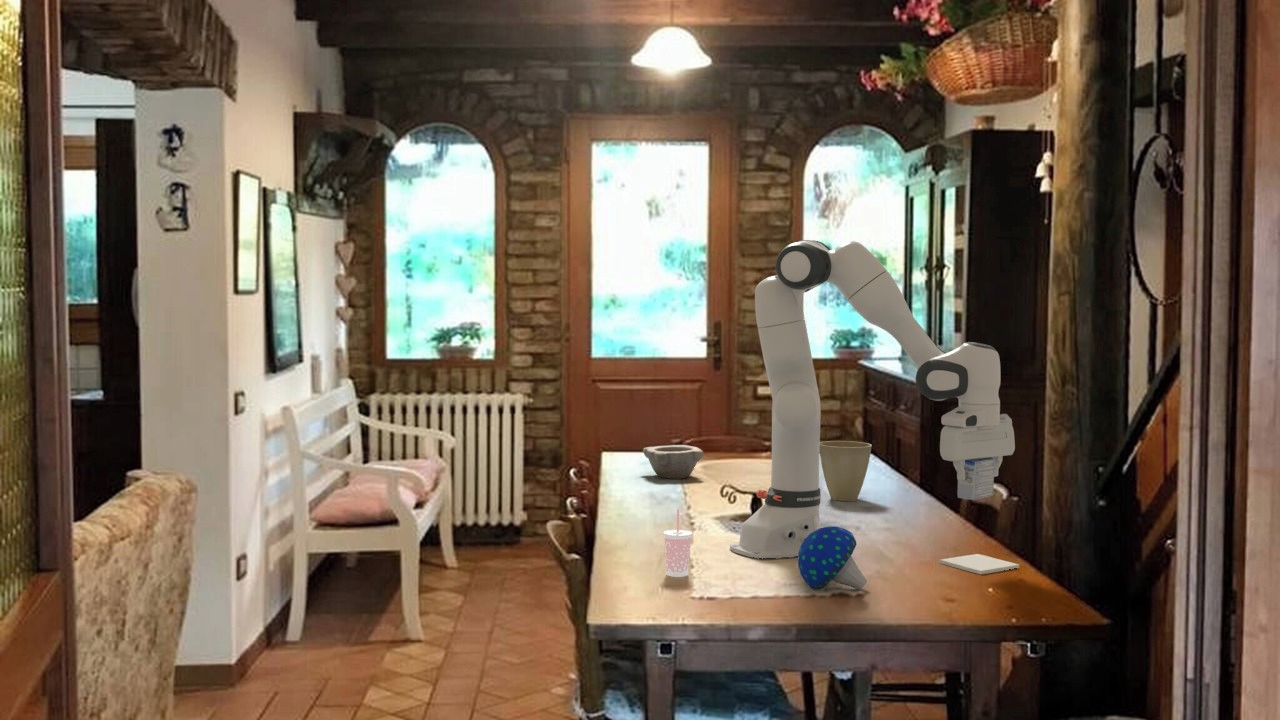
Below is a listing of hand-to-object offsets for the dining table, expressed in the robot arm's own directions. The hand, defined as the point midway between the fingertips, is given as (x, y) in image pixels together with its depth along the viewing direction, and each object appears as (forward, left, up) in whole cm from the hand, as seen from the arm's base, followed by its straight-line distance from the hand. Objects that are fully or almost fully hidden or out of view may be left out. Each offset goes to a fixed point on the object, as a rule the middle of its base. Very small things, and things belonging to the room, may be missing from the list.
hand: (977, 478), depth 274 cm
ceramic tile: (0, -1, -19) cm, 19 cm away
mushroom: (-42, 0, -20) cm, 47 cm away
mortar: (+6, +132, -20) cm, 133 cm away
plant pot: (+28, +76, -20) cm, 83 cm away
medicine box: (0, +1, -5) cm, 5 cm away
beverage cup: (-63, +25, -20) cm, 71 cm away
